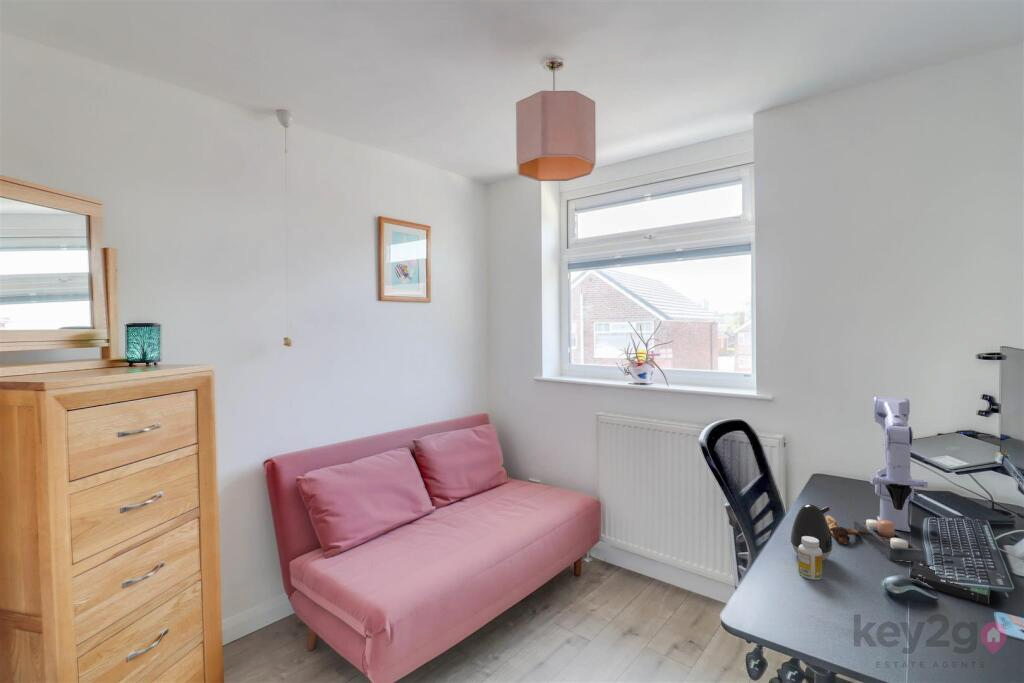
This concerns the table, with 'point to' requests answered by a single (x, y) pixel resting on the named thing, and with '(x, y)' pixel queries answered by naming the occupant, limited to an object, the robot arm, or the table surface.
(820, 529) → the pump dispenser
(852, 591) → the table surface
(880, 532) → the brown egg
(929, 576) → the disk drive
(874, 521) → the knob
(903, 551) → the panel
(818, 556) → the supplement bottle
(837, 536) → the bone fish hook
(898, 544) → the knob
